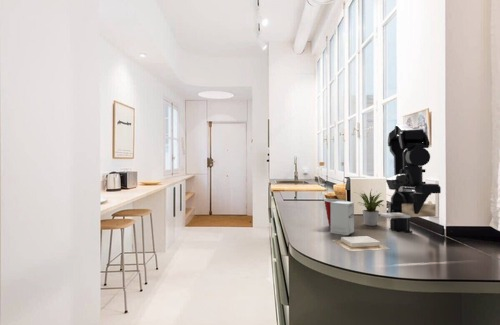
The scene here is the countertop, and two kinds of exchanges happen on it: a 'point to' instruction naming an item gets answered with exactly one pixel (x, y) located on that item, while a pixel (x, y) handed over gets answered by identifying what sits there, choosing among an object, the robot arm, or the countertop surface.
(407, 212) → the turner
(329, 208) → the plastic cup
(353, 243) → the tile
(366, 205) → the house plant
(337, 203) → the supplement box
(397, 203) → the robot arm
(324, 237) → the countertop surface
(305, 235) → the countertop surface
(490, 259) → the countertop surface
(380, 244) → the board
